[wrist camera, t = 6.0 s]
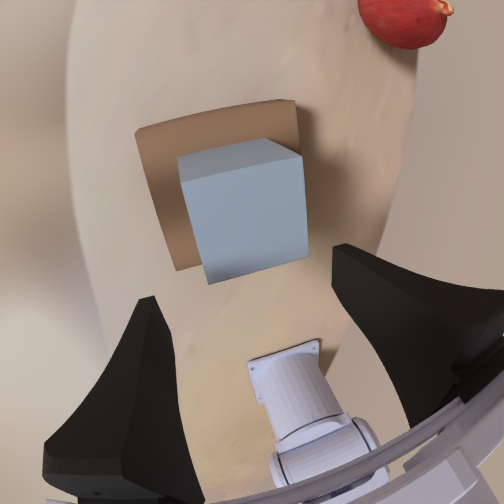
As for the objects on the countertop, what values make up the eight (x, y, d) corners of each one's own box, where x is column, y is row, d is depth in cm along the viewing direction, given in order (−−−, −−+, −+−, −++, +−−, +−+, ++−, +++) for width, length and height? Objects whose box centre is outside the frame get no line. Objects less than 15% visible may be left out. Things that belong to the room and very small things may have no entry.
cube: (275, 215, 18) (308, 256, 14) (197, 235, 18) (208, 284, 13) (265, 137, 16) (302, 156, 11) (177, 157, 15) (180, 183, 11)
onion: (322, -12, 13) (398, -43, 6) (378, -20, 13) (455, -36, 6) (355, 57, 16) (439, 57, 10) (405, 42, 16) (486, 46, 9)
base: (290, 217, 22) (306, 235, 20) (174, 248, 21) (176, 271, 18) (276, 98, 17) (294, 100, 15) (139, 128, 16) (134, 133, 14)
